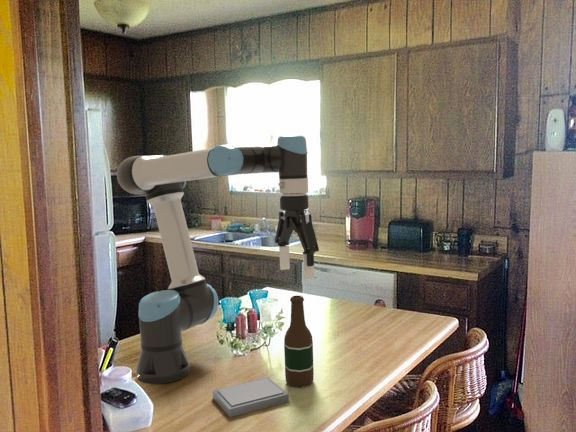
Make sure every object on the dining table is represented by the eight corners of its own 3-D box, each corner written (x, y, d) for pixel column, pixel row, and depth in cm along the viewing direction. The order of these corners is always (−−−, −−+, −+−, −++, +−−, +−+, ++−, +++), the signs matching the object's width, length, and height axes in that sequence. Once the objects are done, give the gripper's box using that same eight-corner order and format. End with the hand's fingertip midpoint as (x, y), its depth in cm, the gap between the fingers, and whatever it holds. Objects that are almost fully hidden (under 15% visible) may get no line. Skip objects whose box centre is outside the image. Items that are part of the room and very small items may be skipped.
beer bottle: (312, 375, 151) (310, 292, 149) (315, 387, 144) (312, 299, 141) (285, 376, 151) (282, 293, 148) (285, 388, 143) (282, 301, 141)
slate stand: (212, 398, 139) (212, 389, 139) (268, 384, 146) (268, 376, 146) (229, 417, 128) (229, 408, 128) (289, 401, 136) (288, 392, 135)
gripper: (261, 193, 151) (264, 267, 153) (304, 197, 129) (307, 284, 131) (285, 191, 154) (287, 264, 157) (331, 195, 132) (333, 280, 135)
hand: (296, 273), depth 144 cm, fingers open, 13 cm apart
